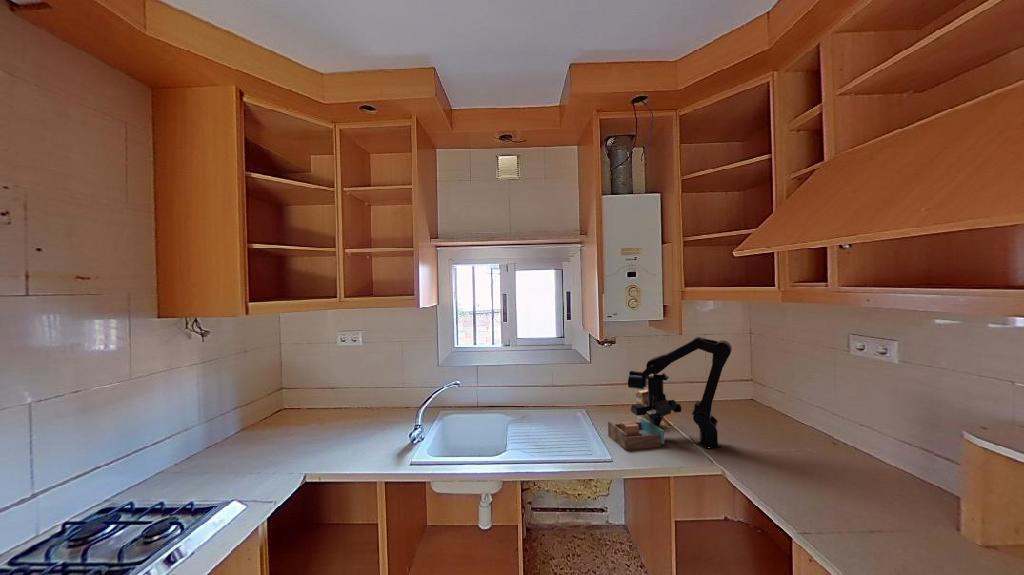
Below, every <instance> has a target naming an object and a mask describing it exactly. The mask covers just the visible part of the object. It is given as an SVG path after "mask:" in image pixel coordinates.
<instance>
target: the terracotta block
mask: <svg viewBox="0 0 1024 575" xmlns="http://www.w3.org/2000/svg"><path fill="white" fill-rule="evenodd" d="M634 422H635V421H622V422H620V424H621V430H622V431H623V432H625V433H626V434H627V437H633V436H639V425H637V424H636V423H634Z"/></svg>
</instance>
